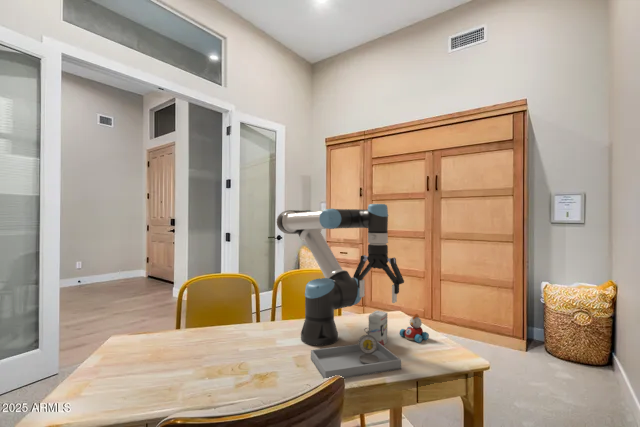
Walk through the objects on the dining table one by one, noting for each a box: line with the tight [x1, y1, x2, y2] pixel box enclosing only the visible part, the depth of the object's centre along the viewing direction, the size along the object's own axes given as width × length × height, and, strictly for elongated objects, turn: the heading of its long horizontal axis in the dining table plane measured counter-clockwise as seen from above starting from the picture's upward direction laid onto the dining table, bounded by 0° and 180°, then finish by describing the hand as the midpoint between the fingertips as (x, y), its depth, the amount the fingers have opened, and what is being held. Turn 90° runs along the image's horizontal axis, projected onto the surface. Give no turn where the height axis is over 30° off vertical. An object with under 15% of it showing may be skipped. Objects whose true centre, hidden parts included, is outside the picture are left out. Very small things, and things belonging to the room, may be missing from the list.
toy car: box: [399, 313, 430, 344], centre depth 131 cm, size 9×9×10 cm
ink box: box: [368, 310, 388, 346], centre depth 125 cm, size 9×5×12 cm, turn 148°
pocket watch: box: [357, 327, 379, 364], centre depth 110 cm, size 8×8×10 cm
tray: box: [310, 341, 402, 379], centre depth 108 cm, size 26×16×3 cm, turn 108°
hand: (377, 299), depth 123 cm, fingers open, 13 cm apart
